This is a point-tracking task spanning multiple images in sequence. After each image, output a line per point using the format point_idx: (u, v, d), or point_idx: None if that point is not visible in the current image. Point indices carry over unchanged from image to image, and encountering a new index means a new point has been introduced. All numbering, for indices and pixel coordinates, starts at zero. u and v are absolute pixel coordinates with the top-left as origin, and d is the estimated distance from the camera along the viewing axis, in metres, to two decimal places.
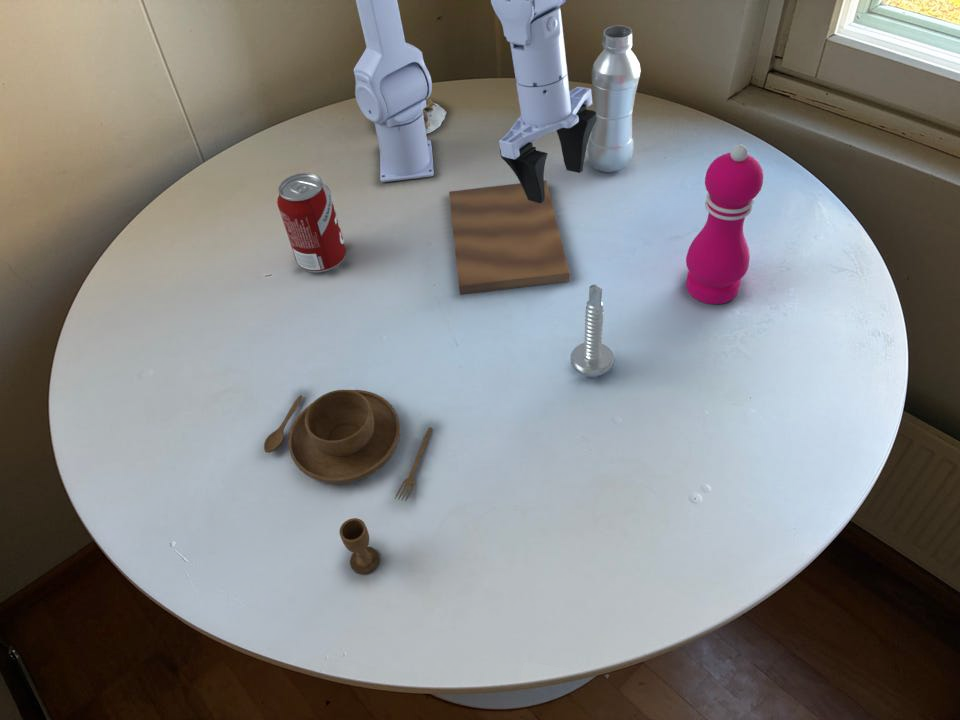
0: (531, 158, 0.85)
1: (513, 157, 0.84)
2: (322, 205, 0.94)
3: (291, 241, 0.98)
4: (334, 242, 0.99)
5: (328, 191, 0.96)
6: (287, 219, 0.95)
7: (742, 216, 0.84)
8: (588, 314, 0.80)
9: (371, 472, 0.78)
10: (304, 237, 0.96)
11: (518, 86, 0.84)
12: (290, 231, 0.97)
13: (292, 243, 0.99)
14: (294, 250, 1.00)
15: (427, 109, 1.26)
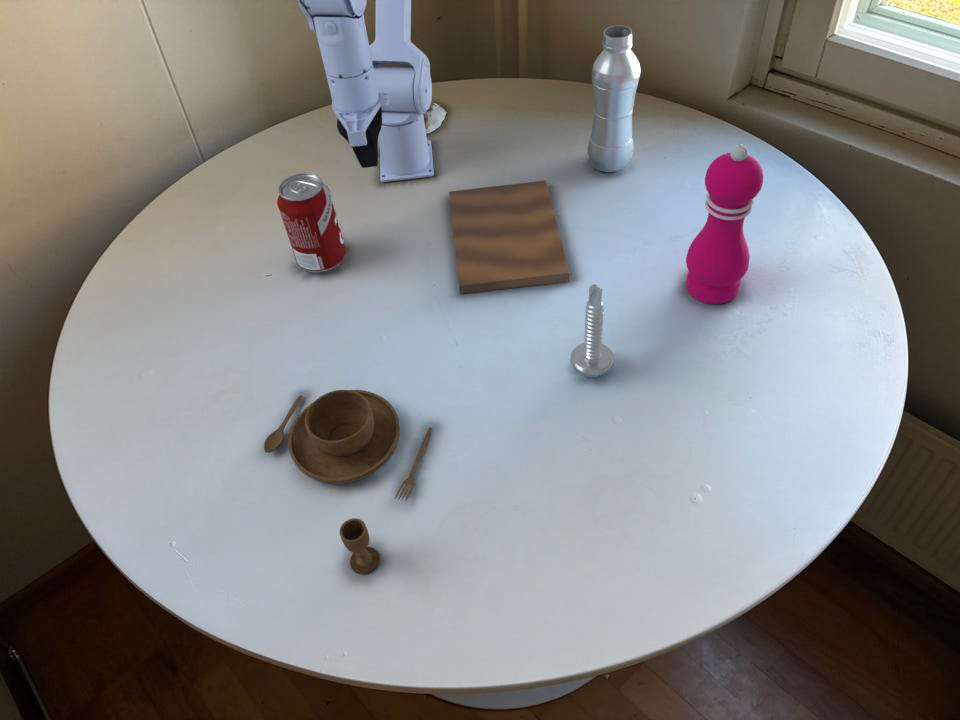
0: (375, 124, 0.95)
1: (365, 143, 0.91)
2: (322, 205, 0.94)
3: (291, 241, 0.98)
4: (334, 242, 0.99)
5: (328, 191, 0.96)
6: (286, 219, 0.95)
7: (742, 216, 0.84)
8: (588, 314, 0.80)
9: (371, 472, 0.78)
10: (304, 237, 0.96)
11: (338, 80, 0.90)
12: (290, 231, 0.97)
13: (292, 243, 0.99)
14: (294, 250, 1.00)
15: None
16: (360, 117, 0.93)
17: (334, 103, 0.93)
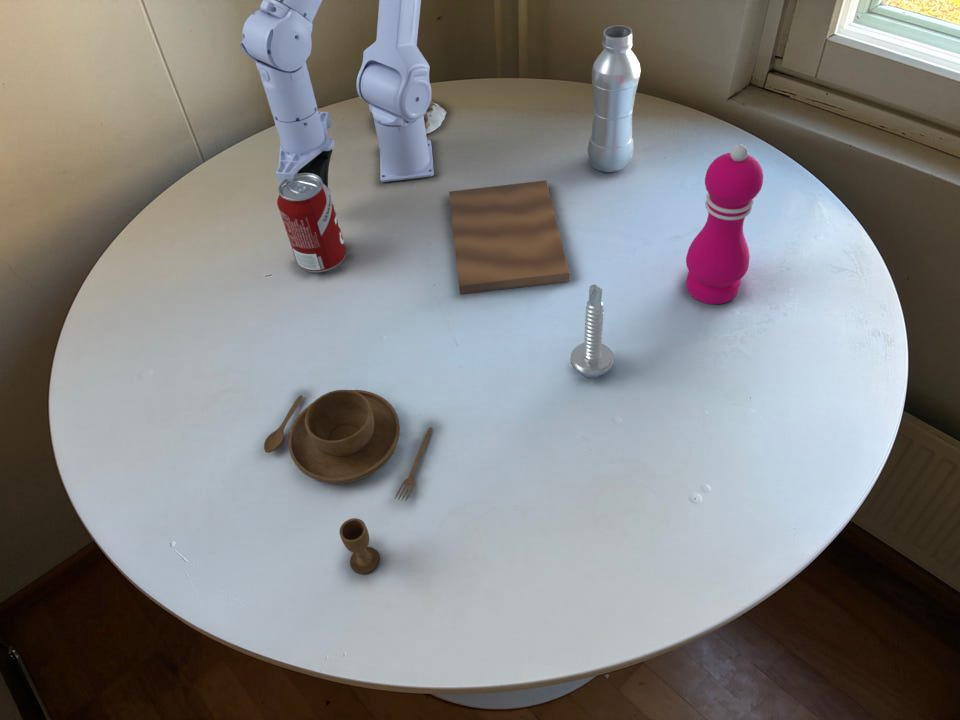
0: (316, 166, 1.00)
1: None
2: (322, 205, 0.94)
3: (291, 241, 0.98)
4: (334, 242, 0.99)
5: (328, 191, 0.96)
6: (286, 219, 0.95)
7: (742, 216, 0.84)
8: (588, 314, 0.80)
9: (371, 472, 0.78)
10: (304, 237, 0.96)
11: (278, 122, 0.95)
12: (290, 231, 0.97)
13: (292, 243, 0.99)
14: (294, 250, 1.00)
15: (427, 109, 1.26)
16: (298, 158, 0.98)
17: (280, 141, 0.99)
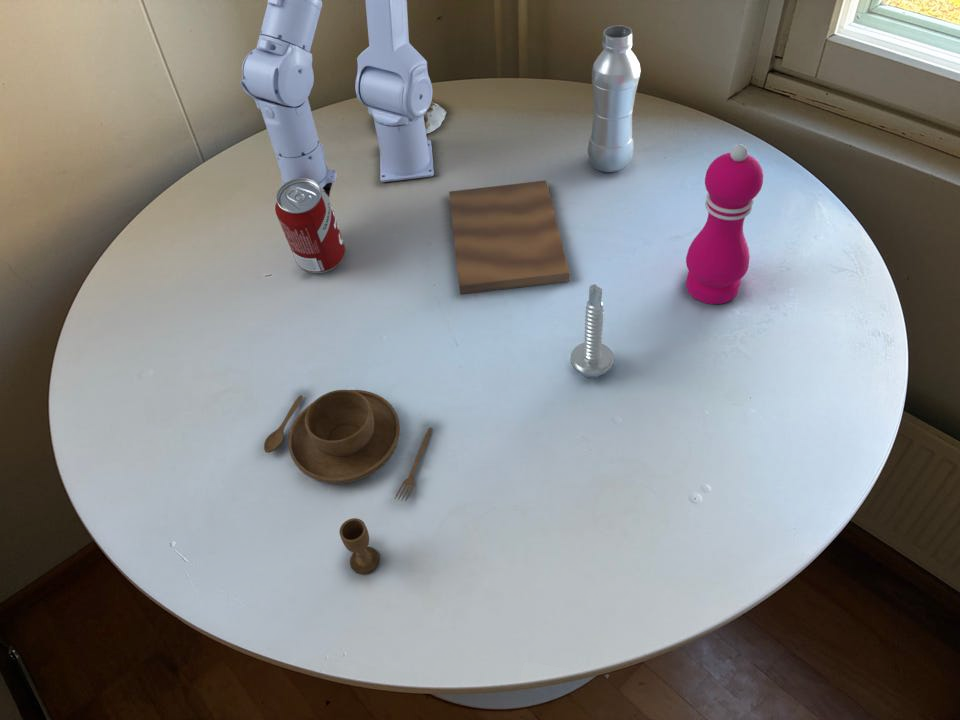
0: None
1: None
2: (322, 215, 0.93)
3: (290, 245, 0.98)
4: (334, 245, 0.98)
5: (327, 198, 0.94)
6: (286, 228, 0.94)
7: (742, 216, 0.84)
8: (588, 314, 0.80)
9: (371, 472, 0.78)
10: (304, 244, 0.96)
11: (282, 159, 0.94)
12: (289, 238, 0.96)
13: (291, 247, 0.98)
14: (293, 253, 0.99)
15: None
16: None
17: (282, 177, 0.97)
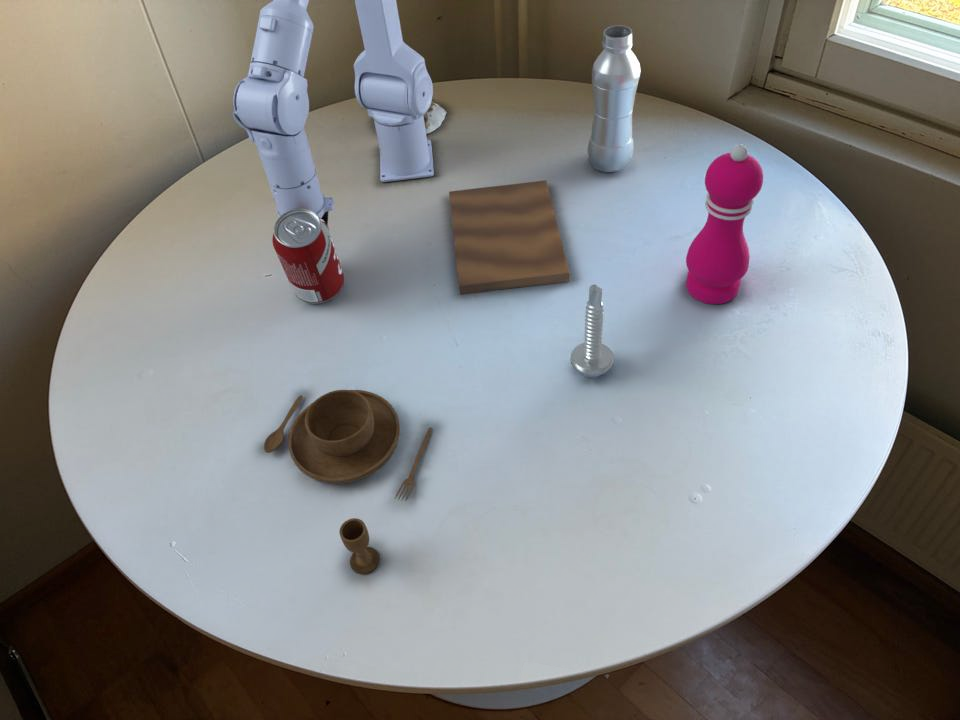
0: None
1: None
2: (321, 249, 0.89)
3: (287, 276, 0.94)
4: (333, 277, 0.94)
5: (327, 230, 0.90)
6: (283, 261, 0.90)
7: (742, 216, 0.84)
8: (588, 314, 0.80)
9: (371, 472, 0.78)
10: (302, 277, 0.92)
11: (280, 190, 0.89)
12: (286, 270, 0.92)
13: (288, 278, 0.94)
14: (290, 283, 0.95)
15: None
16: None
17: (278, 209, 0.93)
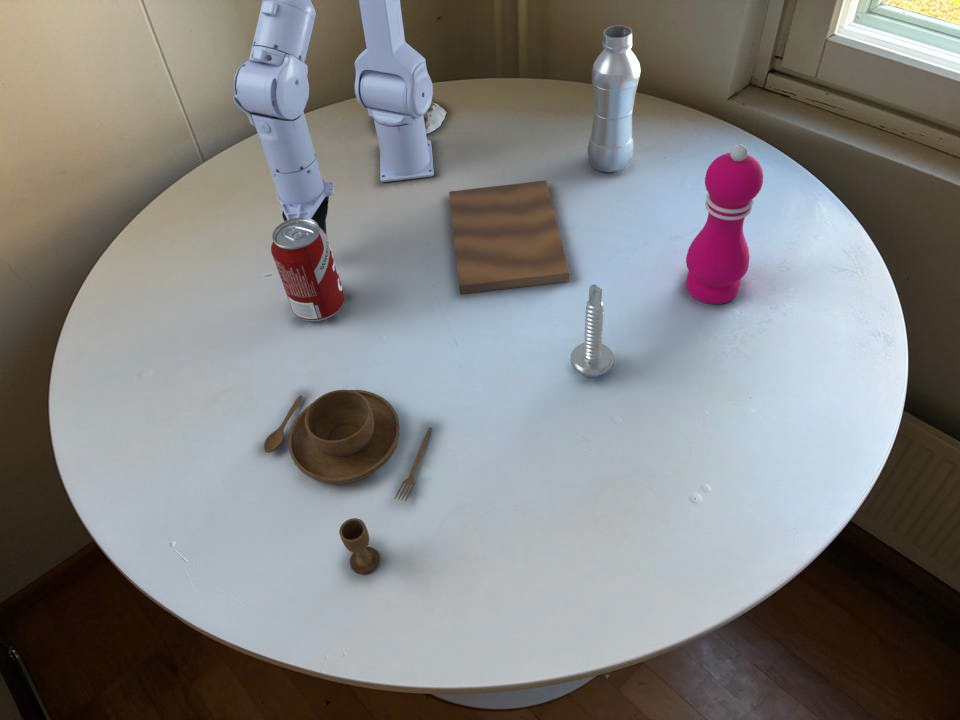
0: (320, 213, 0.95)
1: None
2: (319, 252, 0.88)
3: (286, 289, 0.92)
4: (332, 289, 0.93)
5: (325, 237, 0.90)
6: (281, 268, 0.89)
7: (742, 216, 0.84)
8: (588, 314, 0.80)
9: (371, 472, 0.78)
10: (300, 286, 0.90)
11: (280, 175, 0.90)
12: (284, 279, 0.90)
13: (287, 291, 0.92)
14: (289, 298, 0.93)
15: None
16: (304, 209, 0.93)
17: (278, 194, 0.93)
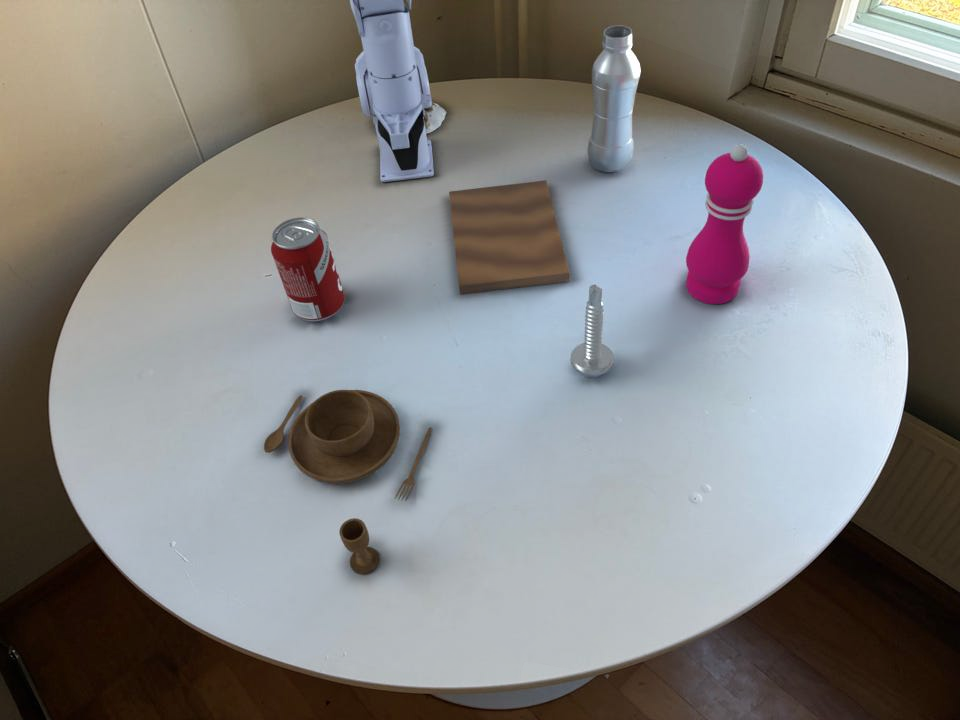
0: (417, 126, 0.92)
1: (407, 146, 0.88)
2: (319, 252, 0.88)
3: (286, 289, 0.92)
4: (332, 289, 0.93)
5: (325, 237, 0.90)
6: (281, 268, 0.89)
7: (742, 216, 0.84)
8: (588, 314, 0.80)
9: (371, 472, 0.78)
10: (300, 286, 0.90)
11: (381, 80, 0.87)
12: (284, 279, 0.90)
13: (287, 291, 0.92)
14: (289, 298, 0.93)
15: (427, 109, 1.26)
16: (402, 119, 0.90)
17: (375, 104, 0.90)
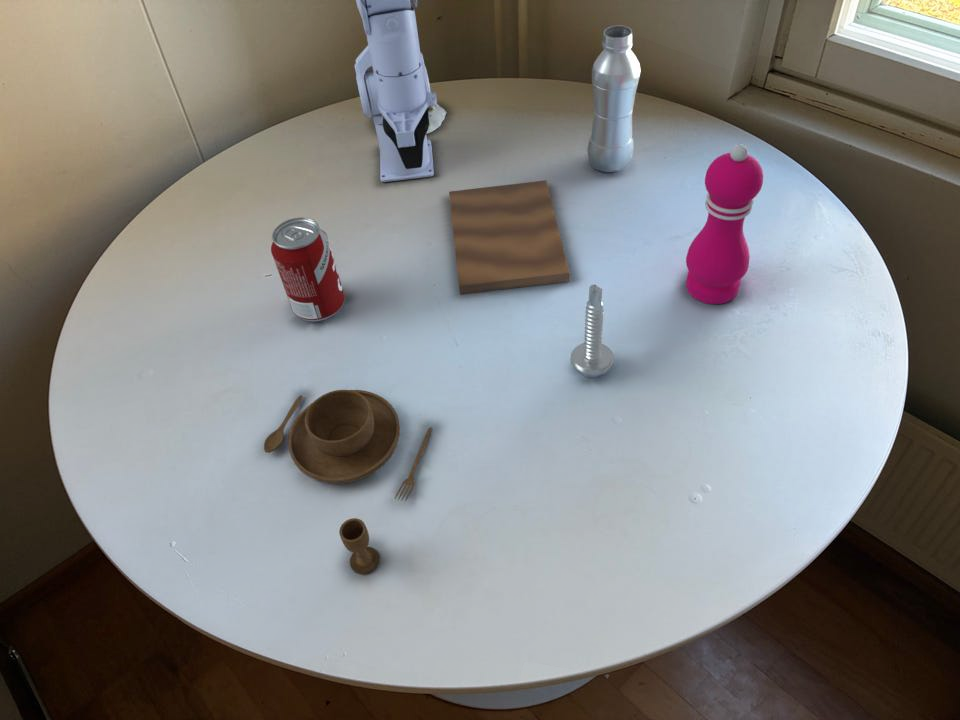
0: (422, 124, 0.92)
1: (413, 144, 0.88)
2: (319, 252, 0.88)
3: (286, 289, 0.92)
4: (332, 289, 0.93)
5: (325, 237, 0.90)
6: (281, 268, 0.89)
7: (742, 216, 0.84)
8: (588, 314, 0.80)
9: (371, 472, 0.78)
10: (300, 286, 0.90)
11: (387, 79, 0.87)
12: (284, 279, 0.90)
13: (287, 291, 0.92)
14: (289, 298, 0.93)
15: None
16: (408, 117, 0.90)
17: (381, 102, 0.90)
